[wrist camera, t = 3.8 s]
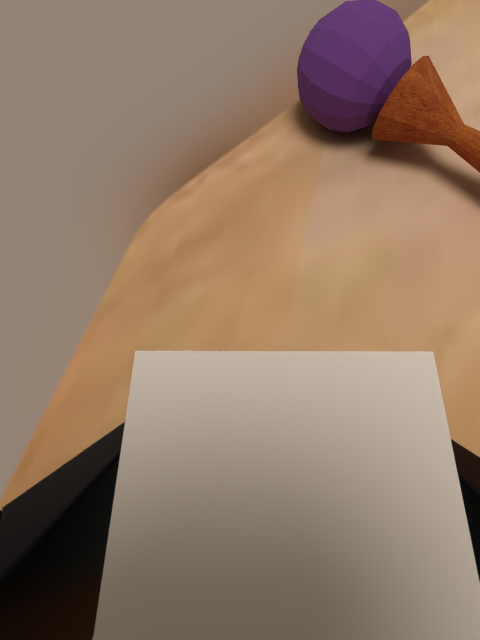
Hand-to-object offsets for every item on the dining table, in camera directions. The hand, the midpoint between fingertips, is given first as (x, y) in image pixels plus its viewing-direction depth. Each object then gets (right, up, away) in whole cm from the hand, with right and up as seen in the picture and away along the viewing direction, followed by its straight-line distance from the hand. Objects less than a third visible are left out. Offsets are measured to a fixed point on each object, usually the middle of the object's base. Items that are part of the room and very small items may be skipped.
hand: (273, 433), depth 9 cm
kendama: (+11, +11, +12) cm, 19 cm away
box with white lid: (0, -4, +6) cm, 7 cm away
